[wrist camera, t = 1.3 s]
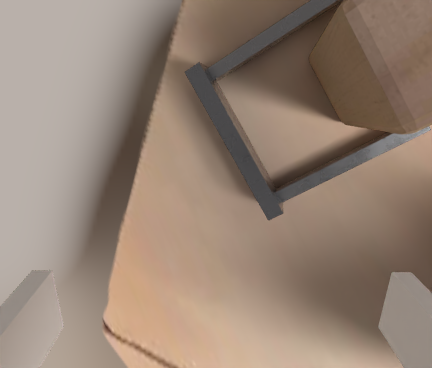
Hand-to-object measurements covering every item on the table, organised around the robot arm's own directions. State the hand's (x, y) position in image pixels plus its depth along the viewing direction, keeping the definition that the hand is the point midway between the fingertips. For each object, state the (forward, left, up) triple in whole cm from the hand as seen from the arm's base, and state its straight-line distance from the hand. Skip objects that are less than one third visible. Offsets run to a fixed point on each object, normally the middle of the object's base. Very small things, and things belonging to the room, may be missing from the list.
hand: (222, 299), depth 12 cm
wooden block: (-16, -5, -32) cm, 36 cm away
